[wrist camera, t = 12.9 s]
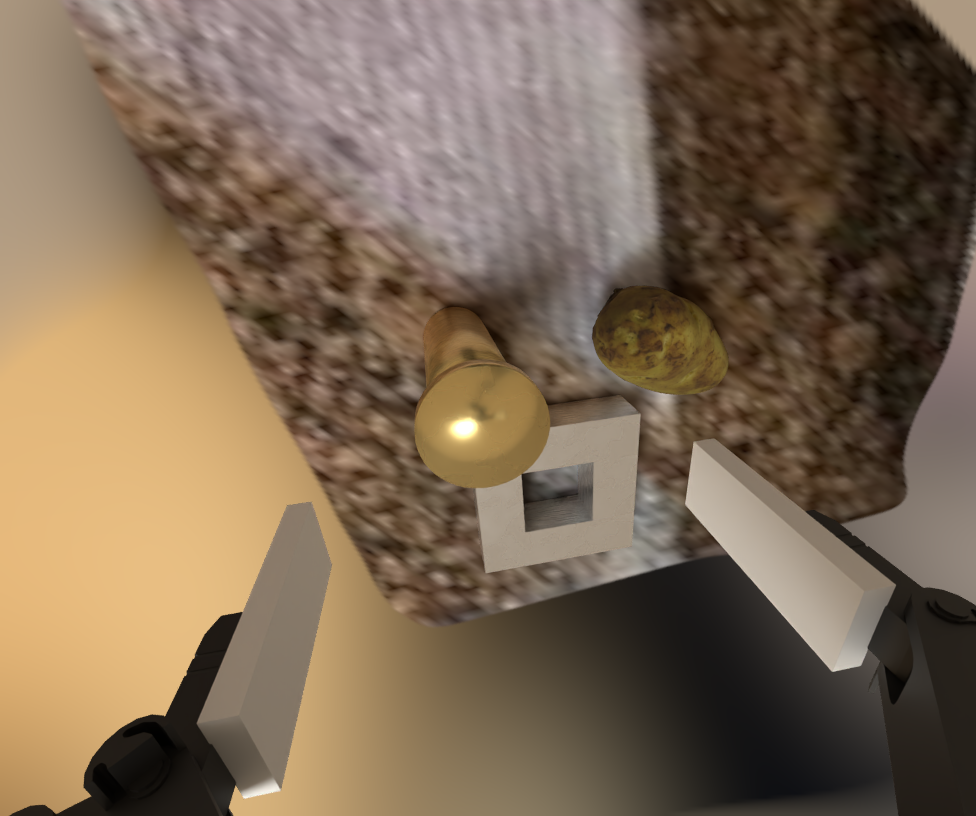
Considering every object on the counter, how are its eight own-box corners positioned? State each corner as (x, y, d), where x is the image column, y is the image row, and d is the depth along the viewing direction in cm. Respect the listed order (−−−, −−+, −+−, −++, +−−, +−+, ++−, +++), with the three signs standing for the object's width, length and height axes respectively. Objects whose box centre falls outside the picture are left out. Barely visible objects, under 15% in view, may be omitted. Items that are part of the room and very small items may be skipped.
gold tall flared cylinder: (408, 302, 34) (403, 376, 19) (491, 292, 34) (548, 357, 20) (420, 381, 36) (425, 497, 22) (498, 370, 37) (551, 477, 23)
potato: (638, 416, 41) (685, 461, 34) (556, 313, 36) (593, 341, 29) (713, 357, 40) (780, 390, 32) (640, 240, 34) (700, 250, 27)
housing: (464, 417, 38) (469, 439, 35) (619, 394, 40) (640, 413, 36) (479, 543, 44) (485, 573, 41) (614, 519, 46) (631, 546, 42)
